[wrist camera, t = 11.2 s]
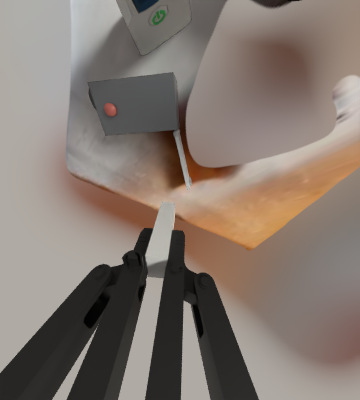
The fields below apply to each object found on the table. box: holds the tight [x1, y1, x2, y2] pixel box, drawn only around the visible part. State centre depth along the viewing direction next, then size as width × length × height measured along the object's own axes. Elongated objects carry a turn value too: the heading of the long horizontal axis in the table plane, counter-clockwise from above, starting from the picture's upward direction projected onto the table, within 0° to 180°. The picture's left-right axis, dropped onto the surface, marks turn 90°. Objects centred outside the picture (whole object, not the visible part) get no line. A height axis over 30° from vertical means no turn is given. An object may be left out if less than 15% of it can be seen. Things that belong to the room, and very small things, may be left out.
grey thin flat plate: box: [173, 129, 191, 190], centre depth 40 cm, size 17×2×7 cm, turn 13°
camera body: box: [88, 72, 180, 136], centre depth 33 cm, size 20×10×10 cm, turn 94°
